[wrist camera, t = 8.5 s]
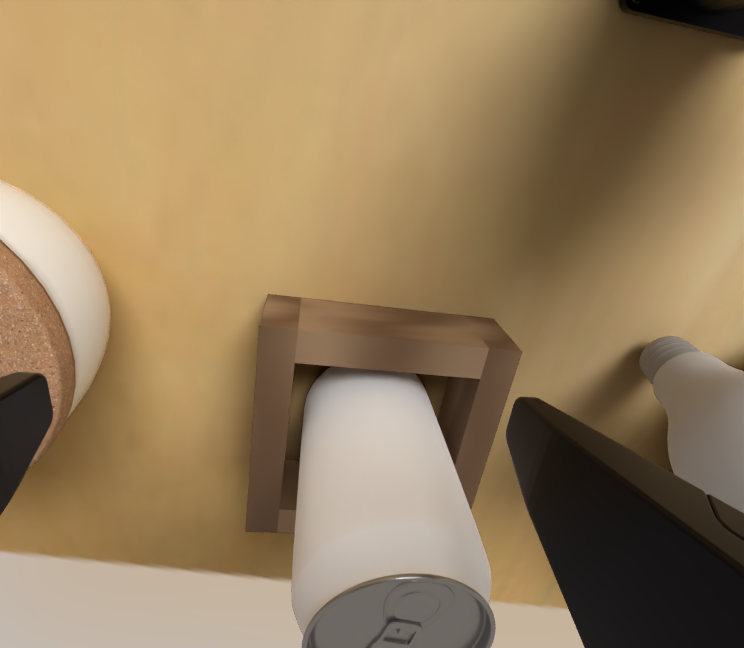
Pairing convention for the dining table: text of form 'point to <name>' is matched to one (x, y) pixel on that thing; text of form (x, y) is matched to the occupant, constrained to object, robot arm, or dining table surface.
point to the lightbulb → (700, 416)
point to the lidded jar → (49, 304)
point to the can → (383, 522)
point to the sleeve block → (375, 352)
